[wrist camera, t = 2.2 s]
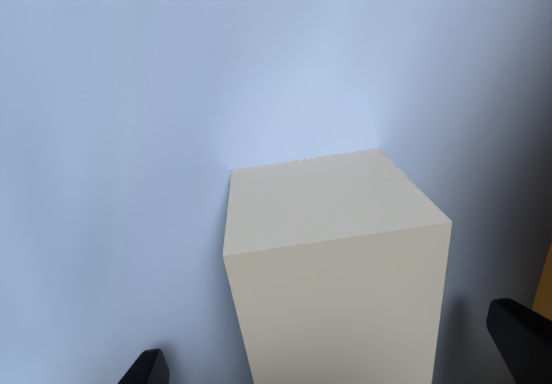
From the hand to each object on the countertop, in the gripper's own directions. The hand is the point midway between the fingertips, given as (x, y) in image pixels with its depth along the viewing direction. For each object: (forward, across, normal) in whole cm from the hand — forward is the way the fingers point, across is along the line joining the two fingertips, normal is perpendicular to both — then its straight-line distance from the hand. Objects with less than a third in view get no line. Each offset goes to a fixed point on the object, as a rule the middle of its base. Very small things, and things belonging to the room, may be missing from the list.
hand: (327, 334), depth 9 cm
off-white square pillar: (+1, 0, 0) cm, 1 cm away
